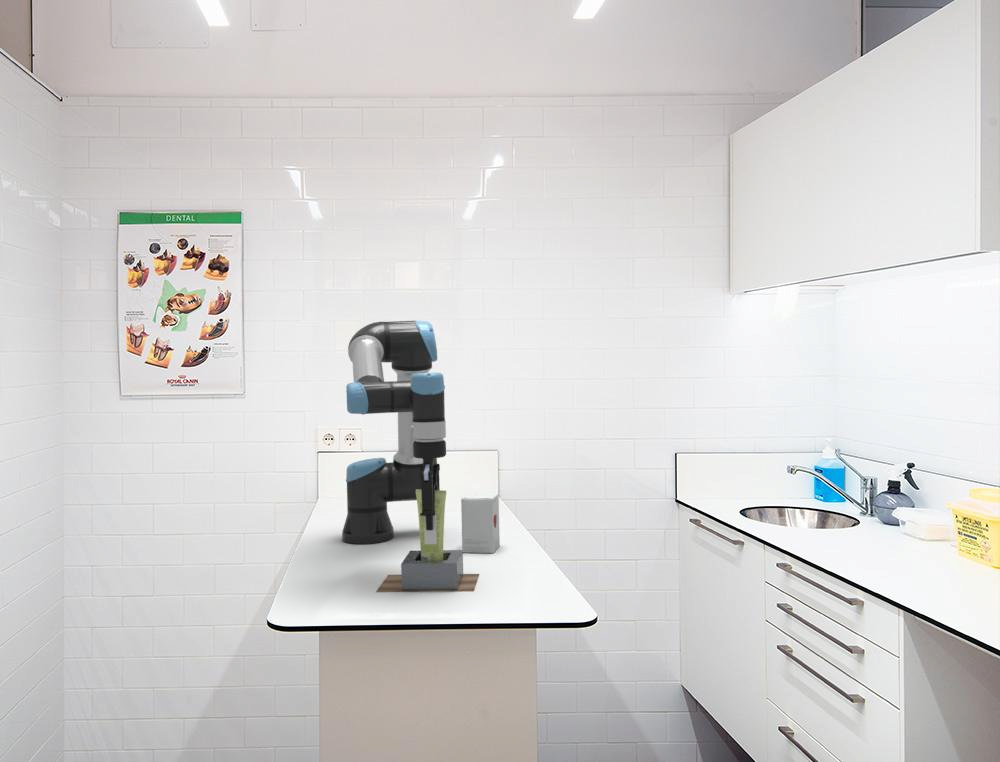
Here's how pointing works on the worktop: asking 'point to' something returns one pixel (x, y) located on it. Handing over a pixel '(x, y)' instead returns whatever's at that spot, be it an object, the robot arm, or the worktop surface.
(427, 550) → the tube
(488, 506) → the supplement box
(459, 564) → the collar
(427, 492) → the robot arm
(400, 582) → the base plate
